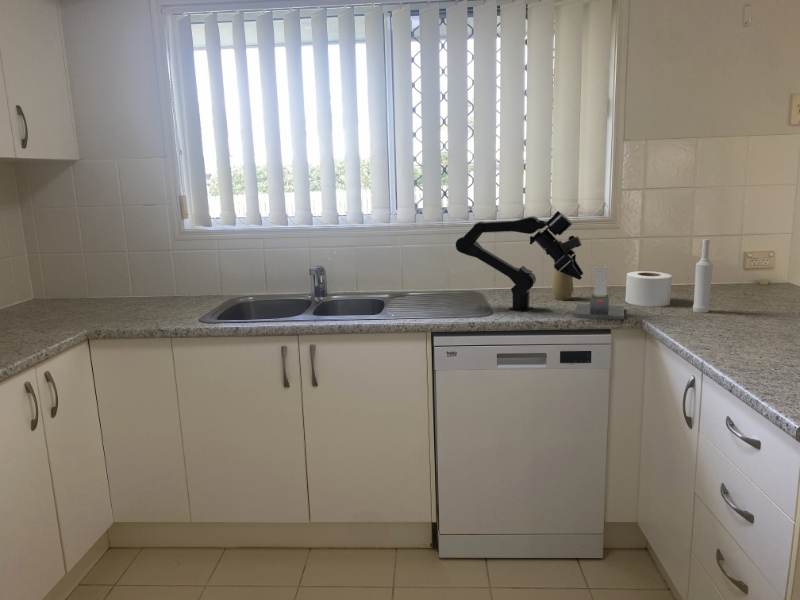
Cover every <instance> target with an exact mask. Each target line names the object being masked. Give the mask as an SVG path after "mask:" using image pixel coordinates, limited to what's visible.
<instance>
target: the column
mask: <svg viewBox="0 0 800 600" xmlns="http://www.w3.org/2000/svg"><path fill="white" fill-rule="evenodd" d="M593 282H594V283H593V285H594V286H593V294H594V297H598V298H606V295H607V285H608V284H607V283H608V265H595V266H594V281H593Z"/></svg>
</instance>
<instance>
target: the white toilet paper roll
mask: <svg viewBox="0 0 800 600" xmlns="http://www.w3.org/2000/svg"><path fill="white" fill-rule="evenodd" d="M672 278H673V277H672V274H669V273H666V272H660V271H651V270H650V271H647V270H646V271H645V270H644V271H643V270H641V271H631V272H630V271H629V272H628V273H626V284H625V302H626V303H627V304H629V305H633V306H638V307H651V308H654V307H657V308H659V307H665V306H670V303H671V292H672V290H671V289H672Z"/></svg>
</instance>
